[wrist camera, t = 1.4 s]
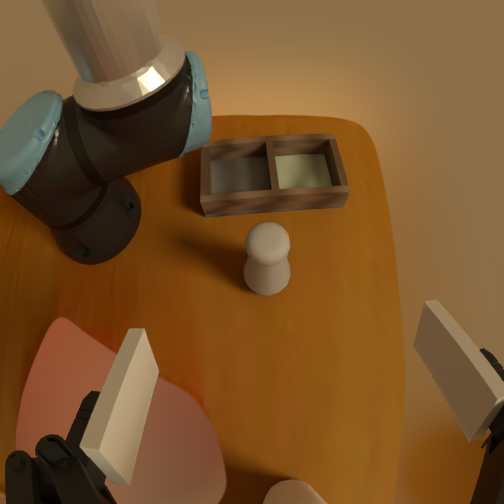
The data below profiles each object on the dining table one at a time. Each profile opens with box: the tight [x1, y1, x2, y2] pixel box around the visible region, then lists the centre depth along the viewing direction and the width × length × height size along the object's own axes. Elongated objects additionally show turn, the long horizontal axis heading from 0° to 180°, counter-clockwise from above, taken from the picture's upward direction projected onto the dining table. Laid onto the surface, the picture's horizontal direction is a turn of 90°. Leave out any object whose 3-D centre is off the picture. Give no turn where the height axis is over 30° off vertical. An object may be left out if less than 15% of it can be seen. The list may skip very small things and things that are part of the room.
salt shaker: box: [243, 222, 290, 296], centre depth 36 cm, size 6×6×13 cm
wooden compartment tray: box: [200, 134, 350, 218], centre depth 45 cm, size 20×10×4 cm, turn 94°
